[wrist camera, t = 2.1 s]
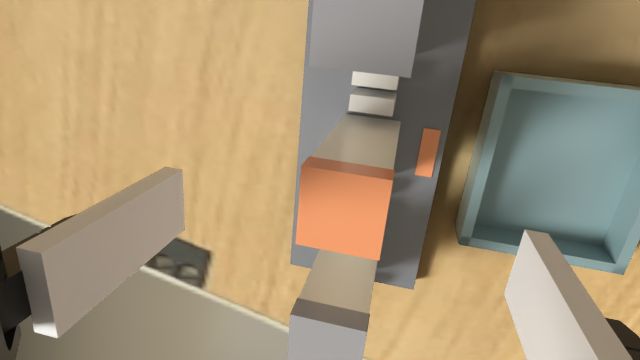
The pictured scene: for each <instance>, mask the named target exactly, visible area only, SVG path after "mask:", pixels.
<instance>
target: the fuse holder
mask: <svg viewBox="0 0 640 360" xmlns="http://www.w3.org/2000/svg"><path fill="white" fill-rule="evenodd" d="M313 1H314V0H309V7H308V21H307V35H306V50H305V64H304V78H303V92H302V107H301V121H300V135H299V149H298V164H297V178H296V192H295V206H294V221H293V235H292V249H291V264H293V265H297V266H302V267H307V268H312V266H313V264H314V261H315V259H316V257H317V254H318V252H319V250H320V249H317V248H312V247H307V246H302V245H297V244H296V230H297V217H298V204H299V190H300V177H301V165H302V164H303V163H304V162H305V161H306V159H307V158H308V157H309V156H312V155H313V153H314V152H315V151H316V150H317V148H318V147H319V146H320V145H321V143H322V142H323V141H324V140H325V138H326V137H327V136H328V135H329V133H330V132H331V131H332V130H333V128H334V127H335V126H336V125H337V123H338V122H339V121H340V120H341V118H342V117H343V116H344V115H345V114H351V115H358V116H366V117H373V118H380V119H388V120H395V121H401V123H400V130H399V136H398V143H397V149H396V156H395V162H394V169H393V170H395V171H394V178H393V184H392V190H391V196H390V201H389V207H388V213H387V219H386V225H385V231H384V236H383V242H382V248H381V254H380V260H379V261H378V260H377V267H376V273H375V279H374V282H379V283H384V284H388V285H393V286H398V287H403V288H408V289H412V290H413V289H414V285H415V280H416V276H417V271H418V266H419V262H420V257H421V253H422V248H423V243H424V239H425V234H426V230H427V225H428V221H429V216H430V211H431V207H432V202H433V198H434V193H435V188H436V184H437V179H438V175H439V170H440V166H441V161H442V156H443V152H444V147H445V143H446V138H447V133H448V129H449V124H450V120H451V115H452V111H453V106H454V101H455V97H456V92H457V88H458V83H459V78H460V74H461V69H462V65H463V60H464V56H465V51H466V46H467V42H468V37H469V33H470V28H471V23H472V19H473V14H474V10H475V5H476V1H477V0H424V4H423V9H422V15H421V21H420V27H419V33H418V38H417V44H416V50H415V56H414V62H413V68H412V73H411V78H407V77H398V76H390V75H381V74H373V73H364V72H356V71H347V70H339V69H330V68H322V67H313V66H309V55H310V42H311V28H312V15H313Z"/></svg>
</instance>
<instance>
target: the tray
mask: <svg viewBox="0 0 640 360" xmlns="http://www.w3.org/2000/svg"><path fill="white" fill-rule="evenodd" d="M455 228H456V233H457V239H458V244H460V245H465V246H471V247H476V248H481V249H487V250H492V251H498V252H503V253H508V254H514V255H517V252H518V249H519V246H520V242H521V239H522V236H523V233H524V230H525V229H526V230H532V231H537V232H543V233H548V234H549V235H550V237H551V238H552V240H553V241H554V243H555V244H556V246H557V247H558V249H559V250H560V252H561V253H562V255H563V256H564V258H565V259H566V261H567V262H568V264H569V265H573V266H578V267H584V268H589V269H595V270H600V271H605V272H611V273H616V274H622V275H624V273H625V270H626V268H627V266H628V264H629V262H630V259H631V257H632V255H633V253H634V251H635V249H636V246H637V244H638V242H639V240H640V86H632V85H623V84H614V83H605V82H596V81H587V80H578V79H569V78H560V77H551V76H542V75H533V74H523V73H514V72H505V71H496V70H494V71H493V75H492V79H491V83H490V87H489V91H488V95H487V99H486V103H485V107H484V111H483V115H482V119H481V123H480V127H479V131H478V135H477V139H476V143H475V147H474V151H473V155H472V159H471V163H470V167H469V171H468V175H467V179H466V183H465V187H464V191H463V195H462V199H461V203H460V207H459V211H458V215H457V219H456V223H455Z"/></svg>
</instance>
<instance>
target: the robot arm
mask: <svg viewBox="0 0 640 360" xmlns="http://www.w3.org/2000/svg"><path fill="white" fill-rule="evenodd" d="M184 230H185V223H184V198H183V173H182V170H181V169H175V168H169V167H164V168H162V169H160V170H159V171H157V172H155V173H153V174H151V175H149V176H147V177H146V178H144V179H142V180H140V181H138V182H136V183H134V184H133V185H131V186H129V187H127V188H125V189H123V190H121V191H120V192H118V193H116V194H114V195H112V196H110V197H108V198H107V199H105V200H103V201H101V202H99V203H97V204H95V205H94V206H92V207H90V208H88V209H86V210H84V211H82V212H81V213H79V214H76V215H73V216H70V217H66V218H64V219H62V220H60V221H58V222H56V223H54V224H52V225H51V227H47V228H45V229H43V230H41V231H40V232H39V233H36V234H34V235H32V236H30V237H28V238H26V239H24V240H22V241H20V242H19V243H17V244H15V245H13V246H11V247H9V248H7V249H5V250H4V251H2V250H1V246H0V360H16V355H17V351H18V346H19V342H20V337H21V330H20V326H19V323H20V322H22V321H23V320H24V319H26V318H27V317H28V316H30V315H31V318H32V323H33V327H34V332H37V333H41V334H44V335H48V336H51V337H55V338H59V337H60V336H61V335H62V334H63V333H65V332H66V331H67V330H68V329H69V328H70V327H72V326H73V325H74V324H75V323H76V322H77V321H78V320H80V319H81V318H82V317H83V316H84V315H86V314H87V313H88V312H89V311H90V310H91V309H93V308H94V307H95V306H96V305H97V304H98V303H100V302H101V301H102V300H103V299H104V298H105V297H107V296H108V295H109V294H110V293H111V292H112V291H114V290H115V289H116V288H117V287H118V286H119V285H121V284H122V283H123V282H124V281H125V280H126V279H128V278H129V277H130V276H131V275H132V274H133V273H135V272H136V271H137V270H138V269H139V268H140V267H142V266H143V265H144V264H145V263H146V262H147V261H149V260H150V259H151V258H152V257H153V256H154V255H156V254H157V253H158V252H159V251H160V250H161V249H163V248H164V247H165V246H166V245H167V244H168V243H170V242H171V241H172V240H173V239H174V238H175V237H177V236H178V235H179V234H180V233H181V232H182V231H184ZM504 295H505V298H506V301H507V304H508V307H509V310H510V313H511V315H512V318H513V321H514V324H515V327H516V330H517V333H518V336H519V339H520V341H521V344H522V347H523V350H524V353H525V356H526V359H527V360H640V338H639V336H638V335H636V334H635V333H634V332H633V331H632V330H630V329H629V328H628V327H627V326H626V325H624V324H623V323H622V322H621V321H618V320H613V319H608V318H605V317H604V316H603V314H602V313H601V311H600V310H599V308H598V307H597V305H596V304H595V302H594V301H593V299H592V298H591V297H590V295H589V294H588V292H587V291H586V289H585V288H584V286H583V285H582V283H581V282H580V280H579V279H578V277H577V276H576V274H575V273H574V271H573V270H572V268H571V267H570V265H569V264H568V262H567V261H566V259H565V258H564V256H563V255H562V253H561V252H560V250H559V249H558V247H557V246H556V244H555V243H554V241H553V240H552V238H551V237H550V235H549V234H548V233H543V232H537V231H532V230H526V229H525V230H524V233H523V236H522V239H521V242H520V246H519V249H518V252H517V255H516V258H515V261H514V264H513V268H512V271H511V274H510V277H509V280H508V283H507V286H506V289H505V293H504Z"/></svg>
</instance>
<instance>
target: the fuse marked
mask: <svg viewBox="0 0 640 360" xmlns="http://www.w3.org/2000/svg"><path fill="white" fill-rule="evenodd" d="M400 123H401V121H395V120H388V119H380V118H373V117H366V116H358V115H351V114H345V115H344V116H343V117H342V118H341V120H340V121H339V122H338V123H337V125H336V126H335V127H334V128H333V130H332V131H331V132H330V133H329V135H328V136H327V137H326V138H325V140H324V141H323V142H322V143H321V145H320V146H319V147H318V148H317V150H316V151H315V152H314V153H313V155H312V156H309V157H308V158H307V159H306V161H305V162H304V163H303V164H302V165H301V177H300V190H299V204H298V217H297V230H296V244H297V245H302V246H307V247H312V248H317V249H322V250H327V251H332V252H337V253H342V254H347V255H352V256H358V257H363V258H368V259H373V260H378V261H379V260H380V254H381V248H382V242H383V236H384V231H385V225H386V219H387V213H388V207H389V201H390V196H391V190H392V184H393V178H394V171H395V170H393V169H394V162H395V156H396V149H397V143H398V136H399V130H400Z"/></svg>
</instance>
